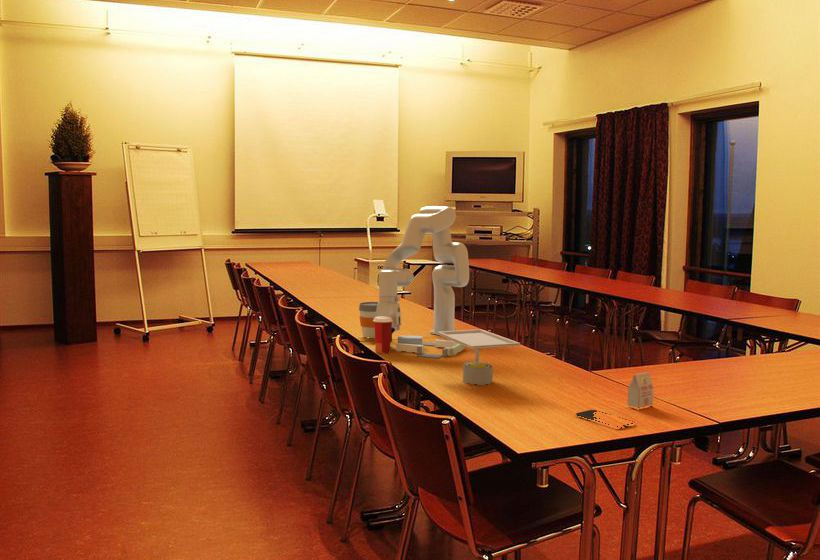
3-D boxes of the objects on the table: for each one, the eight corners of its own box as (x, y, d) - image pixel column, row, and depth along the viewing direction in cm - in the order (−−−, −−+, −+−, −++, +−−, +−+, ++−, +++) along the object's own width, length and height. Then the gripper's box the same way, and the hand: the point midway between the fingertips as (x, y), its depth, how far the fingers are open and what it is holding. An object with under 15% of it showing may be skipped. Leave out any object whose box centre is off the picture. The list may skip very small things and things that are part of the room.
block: (398, 347, 297) (398, 335, 296) (422, 347, 297) (422, 335, 296) (397, 350, 291) (397, 338, 290) (422, 350, 291) (422, 338, 290)
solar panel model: (436, 374, 248) (436, 331, 246) (481, 370, 254) (481, 329, 252) (470, 393, 222) (471, 345, 221) (519, 389, 228) (520, 342, 226)
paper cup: (393, 350, 288) (393, 316, 287) (391, 354, 281) (391, 319, 280) (374, 350, 289) (374, 315, 288) (371, 353, 282) (371, 318, 280)
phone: (593, 409, 203) (636, 422, 191) (593, 413, 203) (636, 426, 191) (573, 413, 198) (617, 427, 186) (573, 417, 199) (616, 431, 186)
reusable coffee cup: (386, 339, 313) (386, 305, 312) (357, 339, 313) (357, 305, 312) (387, 334, 326) (387, 301, 324) (360, 334, 326) (360, 301, 324)
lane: (415, 341, 308) (415, 335, 308) (469, 346, 299) (469, 339, 299) (389, 354, 281) (389, 346, 281) (447, 359, 273) (447, 351, 272)
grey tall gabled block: (627, 407, 208) (628, 373, 207) (641, 404, 212) (643, 371, 211) (638, 410, 205) (639, 376, 204) (652, 407, 209) (653, 373, 208)
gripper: (408, 299, 296) (407, 343, 298) (375, 297, 302) (375, 340, 303) (401, 301, 289) (400, 346, 291) (367, 299, 295) (367, 343, 296)
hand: (387, 343), depth 297 cm, fingers closed
